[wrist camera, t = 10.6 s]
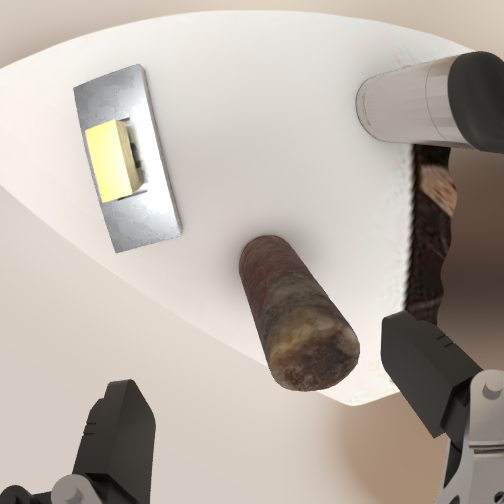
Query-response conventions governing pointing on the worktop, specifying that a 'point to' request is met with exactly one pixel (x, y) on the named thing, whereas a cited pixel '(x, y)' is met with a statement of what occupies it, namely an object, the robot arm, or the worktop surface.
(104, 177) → the yellow block
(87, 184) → the worktop surface
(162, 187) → the grey slotted base
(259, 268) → the brown cylinder
